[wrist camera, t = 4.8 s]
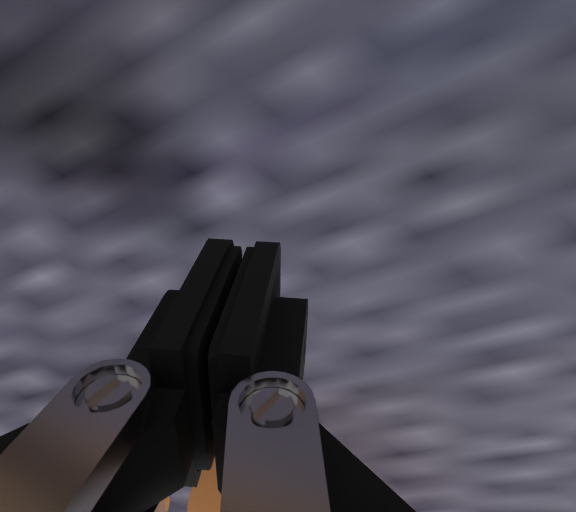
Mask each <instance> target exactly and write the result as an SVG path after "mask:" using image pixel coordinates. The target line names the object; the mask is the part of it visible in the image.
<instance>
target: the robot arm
mask: <svg viewBox="0 0 576 512" xmlns="http://www.w3.org/2000/svg"><path fill="white" fill-rule="evenodd" d="M280 263H281V247H280V243H276V242H259V241H256V243H255V246H254V247H247V248H246V251H245V253H244V256H243V259H242V249H241V246H234V244H233V241H232V240H225V239H208V240H207V241H206V243H205V245H204V247H203V249H202V250H201V252H200V254H199V256H198V258H197V259H196V261H195V263H194V265H193V267H192V269H191V270H190V272H189V274H188V276H187V278H186V279H185V281H184V283H183V285H182V287H181V288H180V290H168V291H167V292H166V293H165V295H164V296H163V298H162V300H161V301H160V303H159V305H158V306H157V308H156V310H155V311H154V313H153V315H152V316H151V318H150V320H149V322H148V323H147V325H146V327H145V328H144V330H143V332H142V333H141V335H140V337H139V338H138V340H137V342H136V343H135V345H134V347H133V348H132V350H131V352H130V353H129V355H128V357H127V359H111V360H105V361H101V362H98V363H95V364H92V365H90V366H88V367H87V368H85V369H83V370H81V371H80V372H78V373H77V374H76V375H75V376H74V377H73V378H71V379H70V380H69V381H68V382H67V384H66V385H65V386H64V387H63V388H62V389H61V390H60V391H59V392H58V393H57V394H56V395H55V396H54V398H53V399H52V400H51V401H50V402H49V403H48V404H47V405H46V406H45V407H44V408H43V409H42V410H41V412H40V413H39V414H38V415H37V416H36V417H35V418H34V419H33V420H32V421H31V422H30V423H28V424H26V425H24V426H22V427H20V428H18V429H15V430H13V431H11V432H9V433H7V434H4V435H2V436H0V512H167V511H168V508H169V505H170V495H171V494H173V493H175V492H176V491H178V490H179V489H181V488H182V487H184V486H189V487H197V485H198V482H199V478H200V475H201V471H202V470H208V471H209V470H210V469H211V467H212V464H213V461H214V457H215V463H216V474H217V486H218V491H219V492H220V493H221V505H220V512H416V511H415V510H414V509H412V508H411V507H410V506H409V505H408V504H407V503H406V502H405V501H404V500H403V499H402V498H400V497H399V496H398V495H397V494H396V493H395V492H394V491H393V490H392V489H391V488H390V487H388V486H387V485H386V484H385V483H384V482H383V481H382V480H381V479H380V478H379V477H377V476H376V475H375V474H374V473H373V472H372V471H371V470H370V469H369V468H368V467H367V466H365V465H364V464H363V463H362V462H361V461H360V460H359V459H358V458H357V457H356V456H355V455H353V454H352V453H351V452H350V451H349V450H348V449H347V448H346V447H345V446H344V445H342V444H341V443H340V442H339V441H338V440H337V439H336V438H335V437H334V436H333V435H332V434H330V433H329V432H328V431H327V430H326V429H325V428H324V427H323V426H322V425H321V424H320V423H318V416H317V408H316V401H315V398H314V395H313V392H312V390H311V389H310V387H309V386H308V385H307V384H306V383H305V382H304V381H303V374H304V364H305V352H306V337H307V317H308V299H299V298H285V297H280Z"/></svg>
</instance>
